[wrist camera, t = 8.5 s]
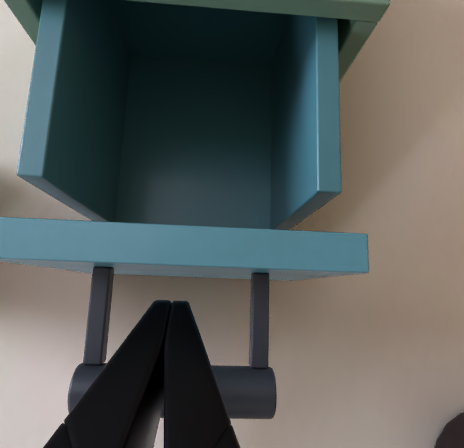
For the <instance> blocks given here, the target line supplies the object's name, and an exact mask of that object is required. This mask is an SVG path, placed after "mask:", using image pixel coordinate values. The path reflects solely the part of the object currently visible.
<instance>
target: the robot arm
mask: <svg viewBox="0 0 464 448" xmlns="http://www.w3.org/2000/svg"><path fill="white" fill-rule="evenodd" d="M163 401H164V448H240V446H239V443H238V441H237V438H236V435H235V432H234V429H233V426H231V421H230V418H229V416H228V413H227V410H226V407H225V404H224V401H223V398H222V396H221V393H220V390H219V387H218V384H217V381H216V379H215V376H214V373H213V370H212V367H211V364H210V361H209V359H208V356H207V353H206V350H205V347H204V344H203V342H202V339H201V336H200V333H199V330H198V327H197V324H196V322H195V319H194V316H193V313H192V310H191V307H190V305H189V303H188V302H187V301H173V302H172V303H171V301H169V300H156V301H154V302H153V303H152V305H151V306H150V307H149V309H148V310H147V311H146V313H145V314H144V315H143V317H142V318H141V319H140V321H139V322H138V323H137V325H136V326H135V327H134V329H133V330H132V331H131V333H130V334H129V335H128V336H127V338H126V339H125V340H124V342H123V343H122V344H121V346H120V347H119V348H118V350H117V351H116V352H115V354H114V355H113V356H112V358H111V359H110V360H109V362H108V363H107V364H106V366H105V367H104V368H103V370H102V371H101V372H100V374H99V375H98V376H97V378H96V379H95V380H94V381H93V383H92V384H91V385H90V387H89V388H88V389H87V391H86V392H85V393H84V395H83V396H82V397H81V399H80V400H79V401H78V403H77V404H76V405H75V407H74V408H73V409H72V411H71V412H70V413H69V415H68V416H67V417H66V419H65V420H64V423H65V424H64V423H62V424H61V425H60V426H59V428H58V429H57V430H56V432H55V433H54V434H53V436H52V437H51V438H50V440H49V441H48V442H47V443H46V445H45V446H44V447H43V448H153V447H154V442H155V438H156V433H157V429H158V424H159V419H160V415H161V410H162V406H163Z"/></svg>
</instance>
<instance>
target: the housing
mask: <svg viewBox="0 0 464 448" xmlns="http://www.w3.org/2000/svg"><path fill="white" fill-rule="evenodd" d="M4 1H5V2H6V4H7V5H8V7H9V8H10V9H11V11H12V12H13V14H14V15H15V17H16V18H17V19H18V21H19V22H20V24H21V25H22V27H23V28H24V29H25V31H26V32H27V34H28V35H29V37H30V38H31V39H32V41H33V42H34V44H35V45H36V43H37V36H38V30H39V23H40V17H41V10H42V4H43V0H4ZM127 1H139V2H150V3H162V4H174V5H185V6H197V7H209V8H220V9H232V10H244V11H255V12H267V13H279V14H290V15H302V16H314V17H325V18H337V19H338V63H339V82H340V81H341V79H342V78H343V76H344V74H345V73H346V71H347V70H348V68H349V67H350V65H351V64H352V62H353V60H354V59H355V57H356V56H357V54H358V53H359V51H360V50H361V48H362V46H363V45H364V43H365V42H366V40H367V39H368V37H369V36H370V34H371V33H372V31H373V29H374V28H375V26H376V25H377V22H378V21H380V19H381V17H382V16H383V14H384V13H385V11H386V10H387V8H388V7H389V5H390V0H127Z"/></svg>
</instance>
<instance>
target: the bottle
mask: <svg viewBox="0 0 464 448" xmlns="http://www.w3.org/2000/svg"><path fill="white" fill-rule="evenodd" d="M435 448H464V412H463V413H460V414H459V415H458V416H457V417H456V418H454V419H453V420H452V421H451V422H449V423H448V424H447V425H446V427H445V428H444V430H443V432H442V433H441V435H440V436H439V438H438V440H437V443H436V447H435Z"/></svg>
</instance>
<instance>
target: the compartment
mask: <svg viewBox="0 0 464 448" xmlns="http://www.w3.org/2000/svg"><path fill="white" fill-rule="evenodd" d="M17 176H19V177H20V178H22V179H24V180H25V181H27V182H29V183H30V184H32V185H34V186H35V187H37V188H39V189H40V190H42V191H44V192H45V193H47V194H49V195H50V196H52V197H54V198H55V199H57V200H59V201H60V202H62V203H64V204H65V205H67V206H69V207H70V208H72V209H74V210H75V211H77V212H79V213H80V214H82V215H84V216H85V217H87V218H89V219H90V220H92V221H79V220H57V219H36V218H14V217H0V261H2V262H10V263H17V264H25V265H32V266H39V267H47V268H54V269H62V270H69V271H76V272H84V273H93V274H92V283H91V293H90V302H89V312H88V321H87V331H86V340H85V350H84V359H83V363H81V364H79V365H78V366H77V368H76V370H75V372H74V374H73V376H72V379H71V383H70V387H69V393H68V411H69V413H70V412H71V411H72V409H73V408H74V407H75V405H76V404H77V403H78V401H79V400H80V399H81V397H82V396H83V395H84V393H85V392H86V391H87V389H88V388H89V387H90V385H91V384H92V383H93V381H94V380H95V379H96V378H97V376H98V375H99V374H100V372H101V371H102V370H103V368H104V367H105V366H106V364H107V363H104V362H105V361H106V352H107V341H108V331H109V320H110V310H111V299H112V289H113V278H114V274H126V275H153V276H180V277H207V278H234V279H251V300H250V341H249V365H250V366H211V367H212V370H213V373H214V376H215V379H216V381H217V384H218V387H219V390H220V393H221V396H222V398H223V401H224V404H225V407H226V410H227V413H228V416H229V418H232V419H272V418H273V417H274V415H275V411H276V399H277V395H276V381H275V375H274V372H273V369H272V368H271V367H268V346H269V280H288V281H292V280H302V279H313V278H323V277H333V276H343V275H353V274H363V273H368V272H369V263H368V235H367V234H360V233H339V232H317V231H295V230H290V229H291V228H292V227H294V226H295V225H297V224H298V223H299V222H301V221H302V220H304V219H305V218H306V217H308V216H309V215H311V214H312V213H313V212H315V211H316V210H318V209H319V208H320V207H322V206H323V205H325V204H326V203H327V202H329V201H330V200H332V199H333V198H334V197H336V196H337V195H339V194H340V193H341V151H340V107H339V63H338V19H337V18H325V17H314V16H302V15H290V14H279V13H267V12H255V11H244V10H232V9H220V8H209V7H197V6H185V5H174V4H162V3H150V2H139V1H127V0H43V4H42V10H41V17H40V23H39V30H38V36H37V43H36V50H35V56H34V63H33V69H32V76H31V83H30V89H29V96H28V102H27V109H26V116H25V122H24V129H23V135H22V142H21V148H20V155H19V162H18V168H17ZM160 418H164V401H163V406H162V410H161V415H160Z"/></svg>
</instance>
